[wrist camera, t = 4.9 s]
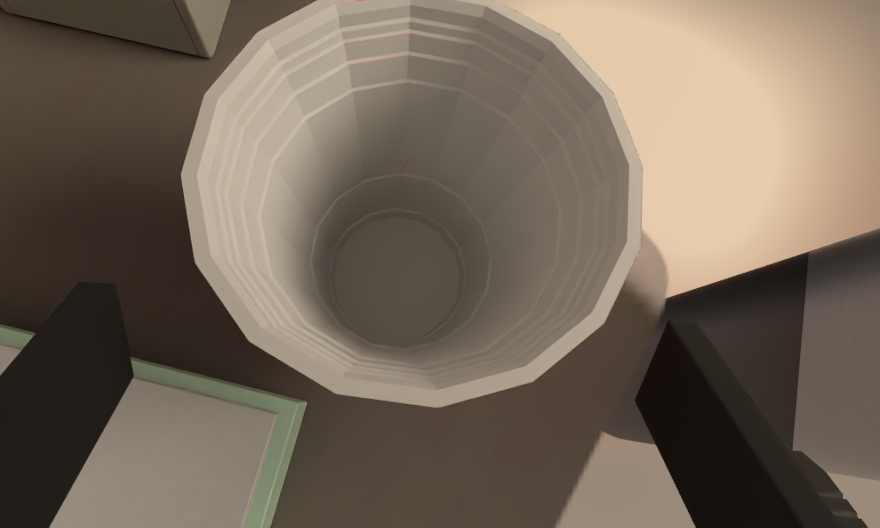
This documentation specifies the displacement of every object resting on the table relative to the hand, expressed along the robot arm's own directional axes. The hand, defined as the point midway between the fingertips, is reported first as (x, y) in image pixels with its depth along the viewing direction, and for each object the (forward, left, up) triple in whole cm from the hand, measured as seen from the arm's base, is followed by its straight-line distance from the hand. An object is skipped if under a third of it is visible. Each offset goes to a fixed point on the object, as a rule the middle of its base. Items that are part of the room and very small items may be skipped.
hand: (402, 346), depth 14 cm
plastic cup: (+1, -4, -10) cm, 11 cm away
